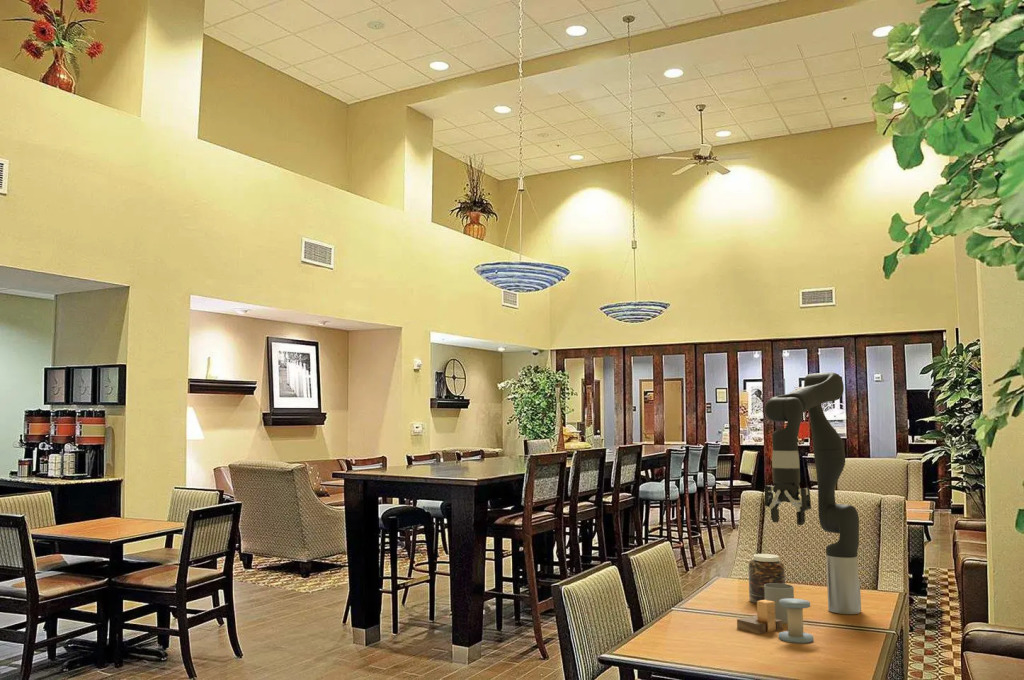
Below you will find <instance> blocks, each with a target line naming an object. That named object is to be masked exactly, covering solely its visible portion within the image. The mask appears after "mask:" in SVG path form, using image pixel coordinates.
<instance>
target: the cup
mask: <svg viewBox="0 0 1024 680" xmlns="http://www.w3.org/2000/svg"><path fill="white" fill-rule="evenodd" d="M794 587H795V586H794V585H792V584H787V583H785V584H780V583H769V584H765V585H764V590H765V600H769V601H774V602H775V619H779V620H782V622H783V624H788V617H787V607H784V606H781V605H780V604H779V600H780V599H786V598H794V599H795V593H794V590H795V589H794Z"/></svg>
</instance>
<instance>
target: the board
mask: <svg viewBox="0 0 1024 680" xmlns="http://www.w3.org/2000/svg"><path fill="white" fill-rule="evenodd" d="M775 622H776V631H781V629H782V630H784V626H783V625H784V623H783V622H782V620H779V619H775ZM736 625H737V626H736V628H737V629H739V630H741V631H742V630H743V631H746V632H750V633H755V634H758V635H761V634H762V635H763V634H767V632H766V631H765V624H764V623H760V622H758V620H757V615H753V616H748V617H743V618H737V619H736Z"/></svg>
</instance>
